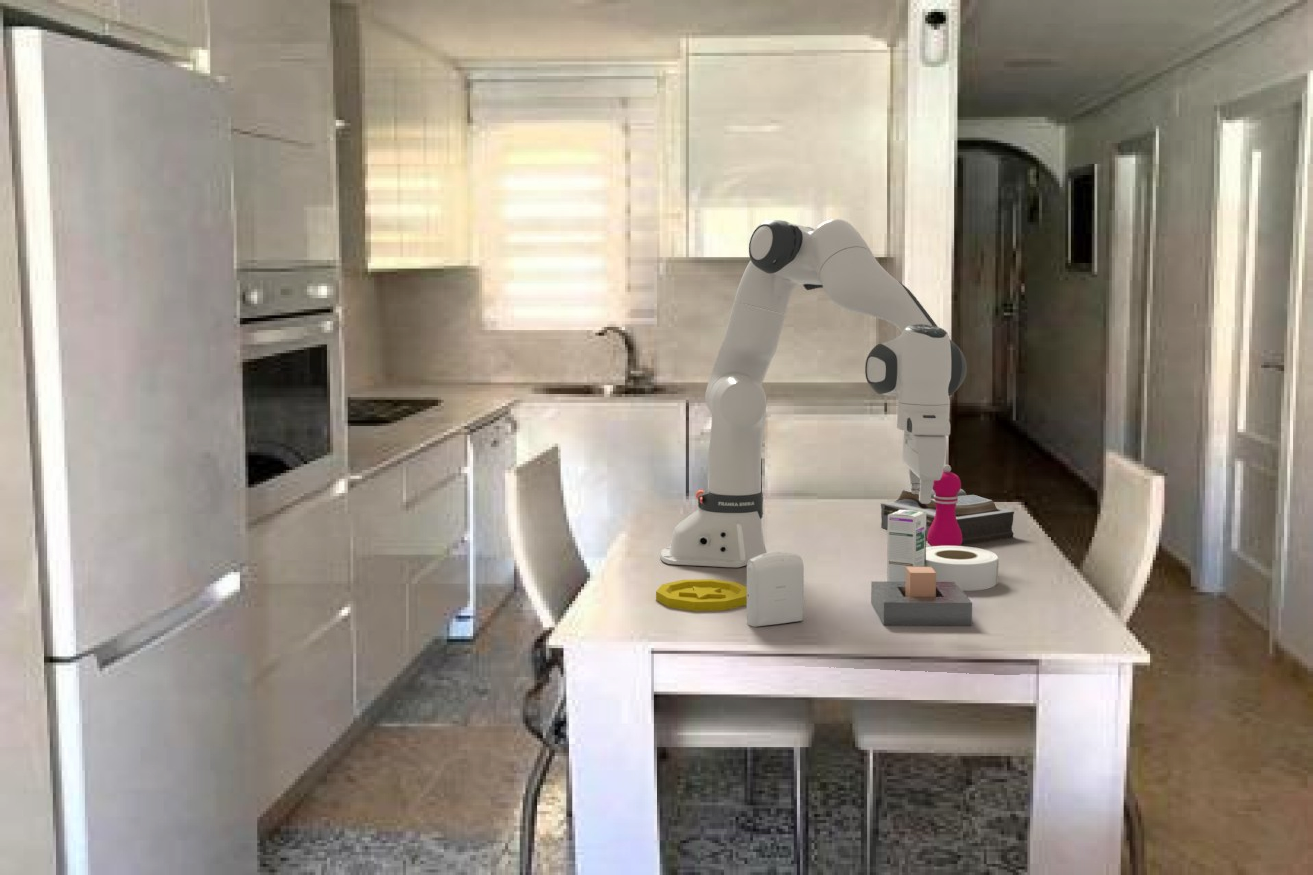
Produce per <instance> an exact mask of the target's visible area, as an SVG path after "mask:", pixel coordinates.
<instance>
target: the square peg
mask: <svg viewBox="0 0 1313 875" xmlns="http://www.w3.org/2000/svg"><path fill="white" fill-rule="evenodd" d="M905 597H936V572H935V571H934V570H933V568H932V567H906V586H905Z"/></svg>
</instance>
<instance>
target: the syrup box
mask: <svg viewBox="0 0 1313 875" xmlns="http://www.w3.org/2000/svg"><path fill="white" fill-rule="evenodd" d="M926 547H927V538H926V512H922V511H916V510H898V511H897V512H894V513H892V514H889V515H888V529H887V549H886V550H887V554H886V555H887V559H886V560H887V564H886V565H887V568H886V570H887V572H886V573H887V575H886V576H887V577H886V579H887V581H886V582H906V567H926Z"/></svg>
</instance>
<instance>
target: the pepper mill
mask: <svg viewBox="0 0 1313 875" xmlns="http://www.w3.org/2000/svg"><path fill="white" fill-rule="evenodd" d="M951 471H952V467H951V465H949V464H944V468H943V473H942V477H941V479H940V480H934V484H933V490H934V492H935V493H936V494H935V495H934V502H936V514H935V518H934V520H933V523H932V525H931V527H930V528H929V531H928V535H927V538H926V542H927V543H928V544H929V547H932V546H962V545H961V543H962V533H961V530H960V527H959V525H958V523H957V520H956V516H955V507H956V503H958V499H957V498H958V496H957V493H958V492H959V490H960V489H962V482H961V479H960V477H959V475H957V474H956V473H954V472H951Z"/></svg>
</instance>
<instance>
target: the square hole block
mask: <svg viewBox="0 0 1313 875" xmlns="http://www.w3.org/2000/svg"><path fill="white" fill-rule="evenodd" d="M870 583H871V592H870V603H871V605H872V607H873V609H874V611H875V613H876V614H877V616H878V618H879V620H880V622H881V623H882V626H940V627H941V626H949V627H950V626H951V627H952V626H953V627H954V626H956V627H957V626H958V627H959V626H960V627H962V626H963V627H964V626H965V627H966V626H968V627H971V626H972V624H973V622H972V621H973V620H972V619H973V618H972V617H973V602H972V601H971V600H970V599H969V598H968V596H967V595H966V594H965V592H964V591H962V590H961V589H960V588H959V587H958V586H957V585H956V583H955V582H936V597H905V586H906V582H887V581H877V580H876V581H871V582H870Z"/></svg>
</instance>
